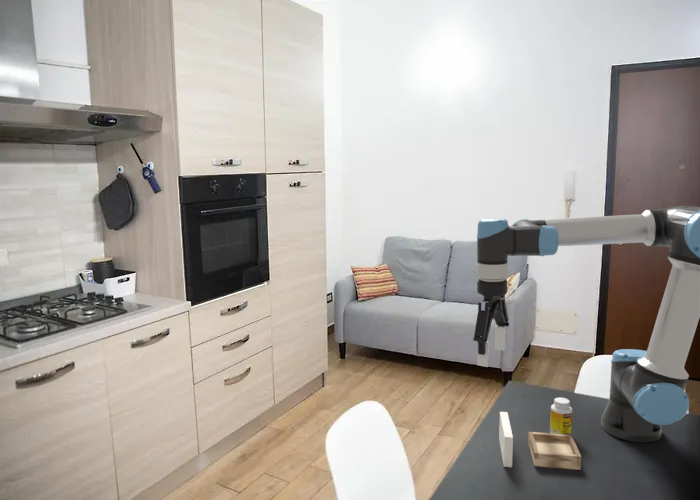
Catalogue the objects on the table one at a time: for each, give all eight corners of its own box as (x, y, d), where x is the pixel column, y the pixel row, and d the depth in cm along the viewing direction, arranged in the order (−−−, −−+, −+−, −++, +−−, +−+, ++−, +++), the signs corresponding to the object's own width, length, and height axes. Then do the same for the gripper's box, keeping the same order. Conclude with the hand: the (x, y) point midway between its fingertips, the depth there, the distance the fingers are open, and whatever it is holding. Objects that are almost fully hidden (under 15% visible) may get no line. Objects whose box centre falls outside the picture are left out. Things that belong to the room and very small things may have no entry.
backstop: (506, 439, 148) (507, 412, 146) (512, 467, 134) (513, 437, 133) (499, 438, 148) (499, 411, 147) (503, 466, 134) (504, 436, 133)
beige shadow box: (571, 447, 143) (571, 434, 143) (580, 469, 132) (581, 456, 132) (528, 443, 145) (528, 431, 145) (534, 465, 135) (534, 453, 134)
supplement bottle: (562, 441, 146) (564, 406, 144) (545, 433, 151) (546, 399, 149) (575, 435, 149) (577, 401, 147) (557, 428, 154) (559, 394, 152)
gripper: (493, 268, 150) (493, 341, 154) (460, 287, 130) (460, 370, 133) (520, 271, 146) (519, 345, 150) (490, 290, 126) (489, 376, 129)
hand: (491, 357), depth 141 cm, fingers open, 13 cm apart
